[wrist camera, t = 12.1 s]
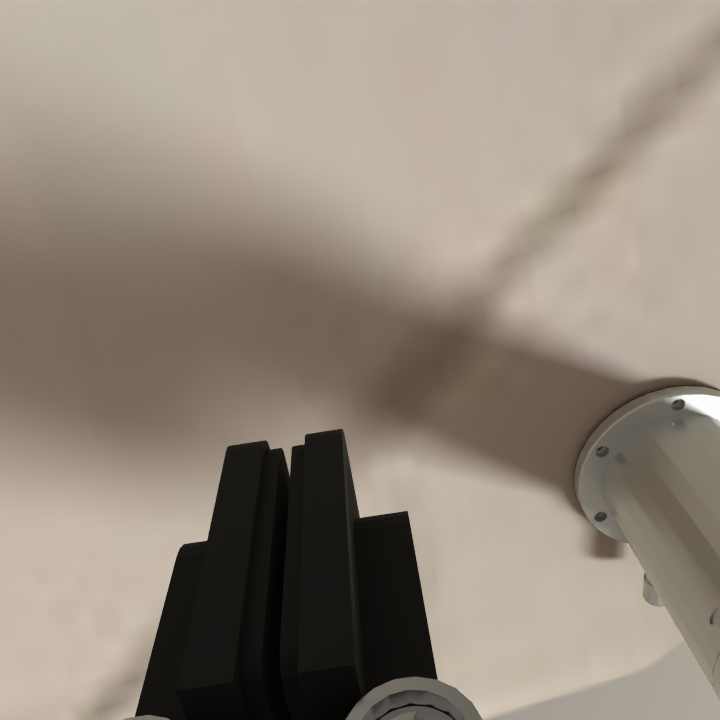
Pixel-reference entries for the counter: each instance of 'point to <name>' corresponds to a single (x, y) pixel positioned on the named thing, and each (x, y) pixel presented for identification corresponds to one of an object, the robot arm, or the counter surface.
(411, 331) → the counter surface
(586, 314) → the counter surface
